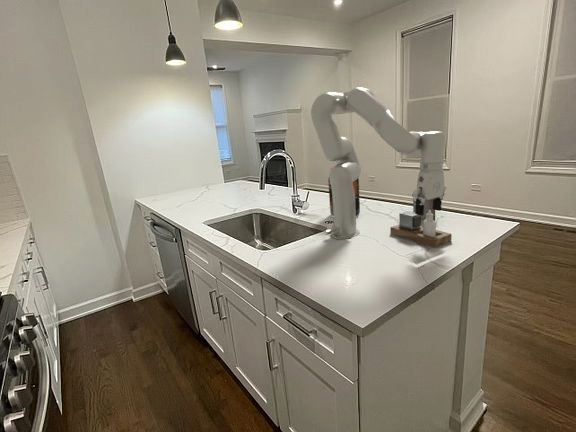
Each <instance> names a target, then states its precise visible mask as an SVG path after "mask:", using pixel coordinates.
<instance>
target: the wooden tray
mask: <svg viewBox="0 0 576 432" xmlns="http://www.w3.org/2000/svg"><path fill="white" fill-rule="evenodd" d="M390 235H392V236H395V237H399V238H401V239H404V240H408V241H412V242H415V243H418V244H419V245H423V246H424V245H425V246H428V247H430V248H434V249H436V248H437V247H440V246H443V245H446V244H448V243H451V242H452V236H453V234H452V233H450V232H446V231H441V230H438V229H436V237H431V236H427V235H423V225H421V226H420V229H418V230H415V231H409V230H406V229H402V228H399V224H397V225H393V226H390Z"/></svg>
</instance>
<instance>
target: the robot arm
mask: <svg viewBox="0 0 576 432" xmlns="http://www.w3.org/2000/svg"><path fill="white" fill-rule="evenodd" d="M351 113H355V114H356V115H357V116H359V117H360V118H361V119H362V120H363V121H365V123H367V124H368V125H369V126H370V127H372V128H373V130H374V131H375V133H376V134H377V135H379V136H380V138H381V139H382V140H383V141H384V142H385V143H386V144H388V146H390V147H391V148H393V149H394V150H395V151H396V152H398V153H399V154H401V155H406V156H407V155H411V154H413V153H416V152H420V159H419V161H420V162H419V173H418V177H417V182H416V189H415V190H416V191H415V192H414V193H413V192H412V194H411V198H412V202H413V201H414V202H415V204H416V210H415V214H417V215H421V216H423V215H424V205H423V203H424V201H425V200H426V199H427V200H430V199H433V209H434V210H435V211H441V210H442V202H443V201H444V198H443V197H444V196H445V192H446V190H447V186H445V173H444V169H443V166H444V152H445V141H446V139H445V137H446V134H445V133H444V132H443V131H437V130H436V131H424V132H423V131H409V130H407V129H406V128H405V127H403V125H401V124H400V123H399V122H398V121H397V120H396V119H395V117H394V116H393V114H392V112H391V110H390V109H389V107H387V106H386V105H385V104H384V103H382V102H381V101H380V100H379V99H377V98H376V97H375V94H374V93H373V91H372V90H371V89H369V88H366V87H360V86H358V87H354V88H353V89H351V90H349V91H345V92H335V91H334V92H333V91H326V92H323V93H320V94H318V96H317V97H316V98H315V99H314V101H313V103H312V106H311V111H310V116H311V121H312V124H313V126H314V130H315V131H316V134H317V137H318V140H319V143H320V146H321V148H322V152H323V155H324V157H325V158H326V160H328V161H330V162H336V164H335V165H334V166H333V168H332V167H331V168H332V169H331V168H330V171H329V176H328V178H330V184H331V189H332V199H333V215H334V216H333V225H332V226H331V229H327V230H325V232H324V233H325V235H326V236H329V235H330V236H331V237H332V238H334V239H337V240H351V239H352V238H354V237H357V236H359V235H360V234H361V232H360V230H359V229H357V216H356V209H355V192H354V187H353V181H355V180H356V179H358V177H359V178H360V176H361V173H362V172H361V171H362V169H361V166H360V162H359V159H358V156H357V154H356V151H355V147H354V145H353V143H352V142H351V140H350V139H349V138H348V137H345V136H341V134H340V132H339V129H338V127H337V124H336V122H335V121H334V119H333V117H332V115H342V114H351ZM434 198H435V199H434ZM420 199H422V200H421V201H420Z"/></svg>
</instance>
